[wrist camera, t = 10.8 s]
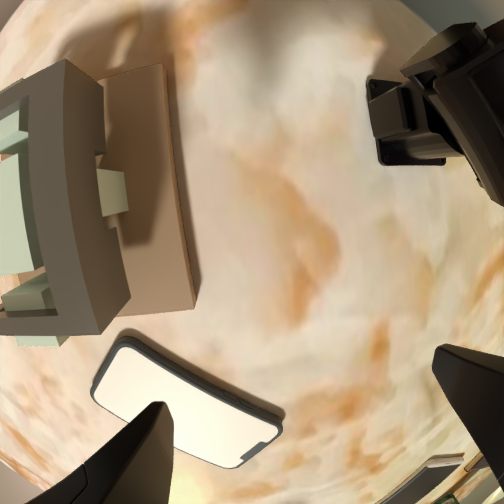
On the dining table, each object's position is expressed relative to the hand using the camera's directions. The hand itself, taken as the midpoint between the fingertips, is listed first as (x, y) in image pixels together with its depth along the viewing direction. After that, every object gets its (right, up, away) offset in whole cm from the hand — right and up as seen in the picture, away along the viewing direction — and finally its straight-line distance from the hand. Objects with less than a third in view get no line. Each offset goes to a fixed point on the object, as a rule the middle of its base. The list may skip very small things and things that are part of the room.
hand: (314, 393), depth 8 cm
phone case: (-8, -10, +14) cm, 19 cm away
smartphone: (+24, -41, +24) cm, 53 cm away
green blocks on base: (-14, +8, +10) cm, 18 cm away
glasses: (-14, +7, +6) cm, 16 cm away
